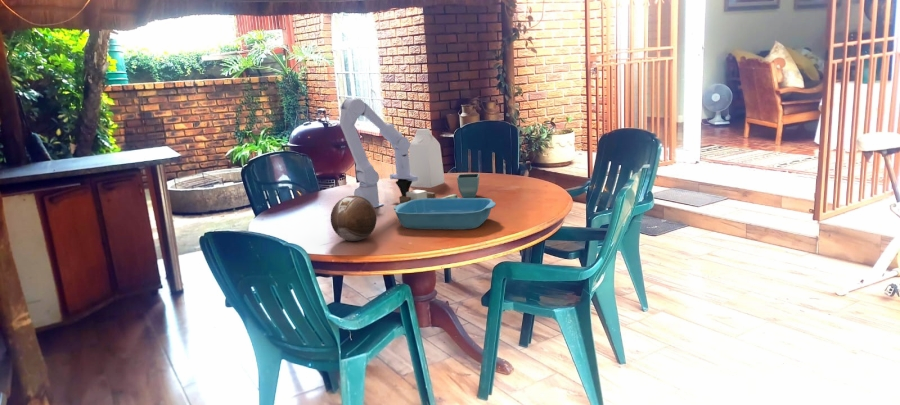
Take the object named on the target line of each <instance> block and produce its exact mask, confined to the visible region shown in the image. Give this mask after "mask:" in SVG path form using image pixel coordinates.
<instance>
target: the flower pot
mask: <svg viewBox="0 0 900 405" xmlns="http://www.w3.org/2000/svg"><path fill="white" fill-rule="evenodd" d="M456 179H457V188H458V192H459V194H460V197H461V198H476V196H477V193H478V192H479V191H478V190H479V186H480V173H461V174H460V173H459V174H458V175H457V177H456Z"/></svg>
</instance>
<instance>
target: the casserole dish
mask: <svg viewBox="0 0 900 405" xmlns="http://www.w3.org/2000/svg"><path fill="white" fill-rule="evenodd" d="M496 205H497V203H496V202H495V201H493V199H491V198H487V197H486V198H485V197H484V198H483V197H474V198H463V197H460V198H442V197H436V198H426V199H415V200H411V201H408V202H405V203H401V204H400V203H399V204H396V205H395V206H394V207H393V210H394V212H395V214H396V218H397V219H398V221H399V223H400V224H401V225H402V227H404V228H406V229H412V230H470V229H471V230H472V229H477V228H479V227H480V226H481V225H482V224H484V223H485V221H486V220H488V218H489V217H490V214H491V210H492V209H493V208H495V207H496Z"/></svg>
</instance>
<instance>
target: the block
mask: <svg viewBox="0 0 900 405" xmlns="http://www.w3.org/2000/svg"><path fill="white" fill-rule="evenodd" d="M427 192H428V191H427V190H423V189H422V190H421V189H413V190H409V192H406V197H411V200H415V199H426V198H427Z"/></svg>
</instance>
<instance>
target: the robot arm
mask: <svg viewBox="0 0 900 405" xmlns="http://www.w3.org/2000/svg"><path fill="white" fill-rule="evenodd" d="M339 108H340V118H339V125H340V129H341V130H342V133H343V136H344V139H345V140H346V144H347V146H348V148H349V150H350V153H351V155H352V158H353V161H354V163H355V171H356V173H355V174H356V179H357V181H358V182H359V185H358V186H359V187H356V188H355V189H354V192H353V196H360V197H363V198H365V199H367V200H368V201H369V202H370V203H371V204H372V205H373V207H374V209H375V208H378V207H381V206H384V205H385V204H384V203H380V200H379V199H380V198H379V187H378V182H379V179H380V176H379V175H380V174H379V173H378V171H376V170H375V168H374V167H373V165H372V164H371V161H370V160H369V158H368V156H367V153H366V151H365V148H364V146H363V144H362V141H361V139H360V136H359V133H358V131H357V128H356V126H355V124H356V122H357V120H358V119H359V118H360V117H365V118H366V119H367V120H369V121H370V122H371V124H373V125H374V126H376V127H377V128H378V129H379V134H380V135H381V136H382V137H383V138H385V140H387V142H389V143H390V145H391V148H393V149H394V159H395V160H394V161H395V172H396V173H392V174H390V175H389V179H390V180H396V181H395V184H396V185H397V187H398V189H399V191H400V194H401V196H405V197H406V192H410V187H411V186H410V185H411V183H412V181H413V182H415V181H418V178H417V176H414V175H412V174H410V166H409V147H410V144H411V142H410V140H409V138H408V137H406V136H403V133H402V132H401V131H399V130H398V129H396V127H395V125H394V124H393V123H390V122H387V123H386V122H385V121H384V120H383V119H382V118H381V116H379V115H378V114H377V113H376V112H375V111H374V110H373V108H371V106H369V104H368V103H365V102H364V101H363V99H360V98H351V97H350V98H345V99H344V100H343V101H342V104H341V106H340V107H339Z"/></svg>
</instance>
